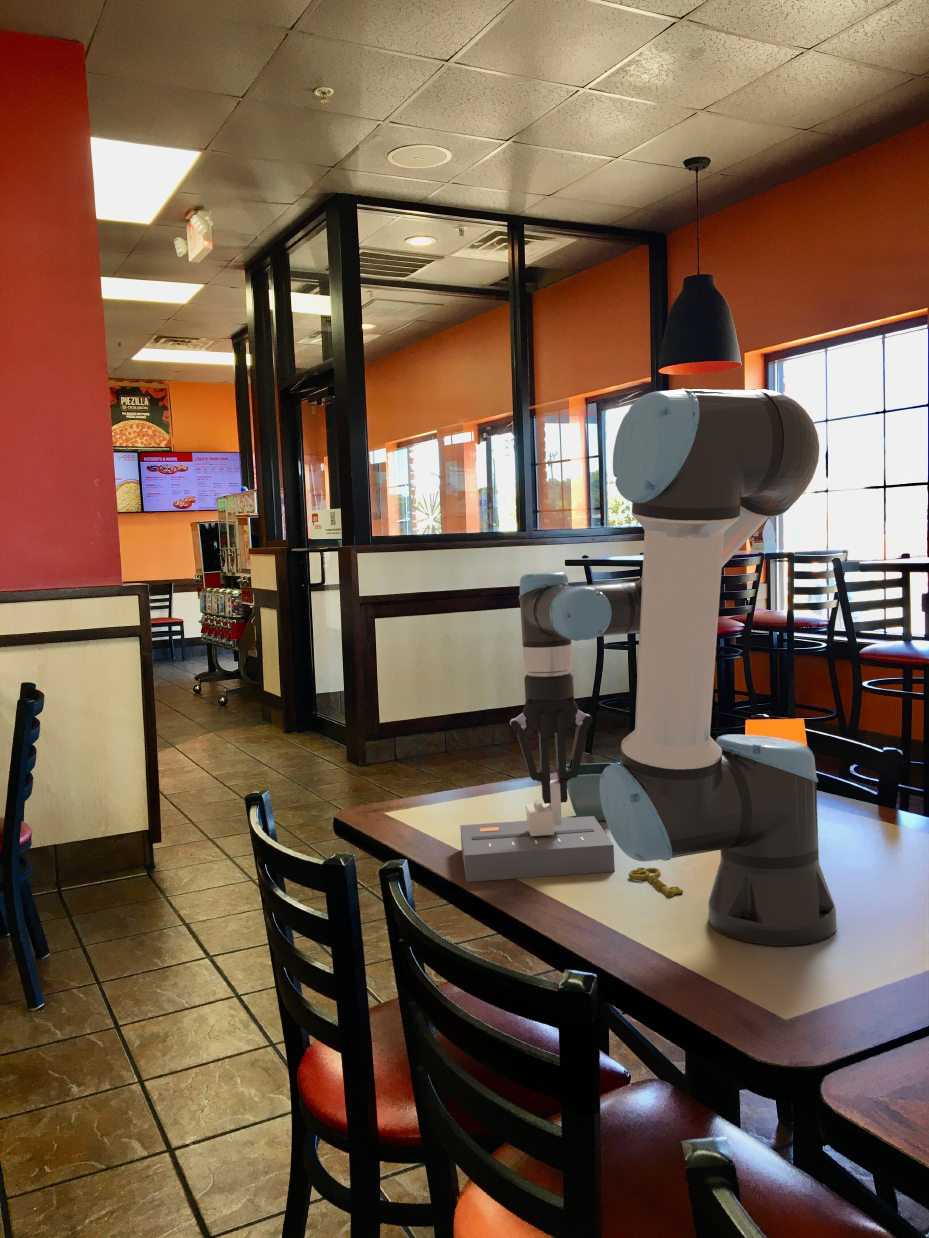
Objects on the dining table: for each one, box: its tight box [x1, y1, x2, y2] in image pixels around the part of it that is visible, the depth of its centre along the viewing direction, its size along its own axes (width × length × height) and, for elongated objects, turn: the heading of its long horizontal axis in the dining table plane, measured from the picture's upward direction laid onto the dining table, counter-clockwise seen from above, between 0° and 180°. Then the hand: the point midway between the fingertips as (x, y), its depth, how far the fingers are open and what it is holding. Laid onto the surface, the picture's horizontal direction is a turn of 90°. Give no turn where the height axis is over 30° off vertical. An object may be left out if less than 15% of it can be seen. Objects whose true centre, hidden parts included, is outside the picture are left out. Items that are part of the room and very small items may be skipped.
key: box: [628, 867, 684, 898], centre depth 135 cm, size 12×1×5 cm
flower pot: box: [566, 762, 613, 822], centre depth 170 cm, size 9×9×9 cm
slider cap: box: [525, 799, 554, 836], centre depth 148 cm, size 5×4×4 cm
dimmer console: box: [459, 816, 616, 883], centre depth 149 cm, size 16×22×4 cm
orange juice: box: [744, 718, 808, 747], centre depth 148 cm, size 8×9×20 cm
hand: (556, 822), depth 149 cm, fingers closed
